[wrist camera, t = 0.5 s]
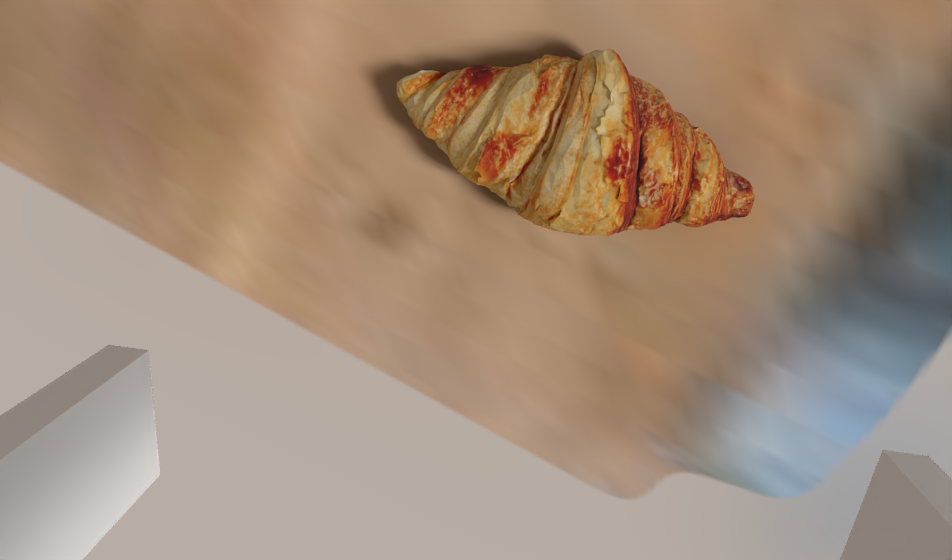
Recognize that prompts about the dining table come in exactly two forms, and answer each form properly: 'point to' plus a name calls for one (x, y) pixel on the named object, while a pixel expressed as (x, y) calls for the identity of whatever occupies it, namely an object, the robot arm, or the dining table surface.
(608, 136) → the croissant
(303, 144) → the dining table surface
